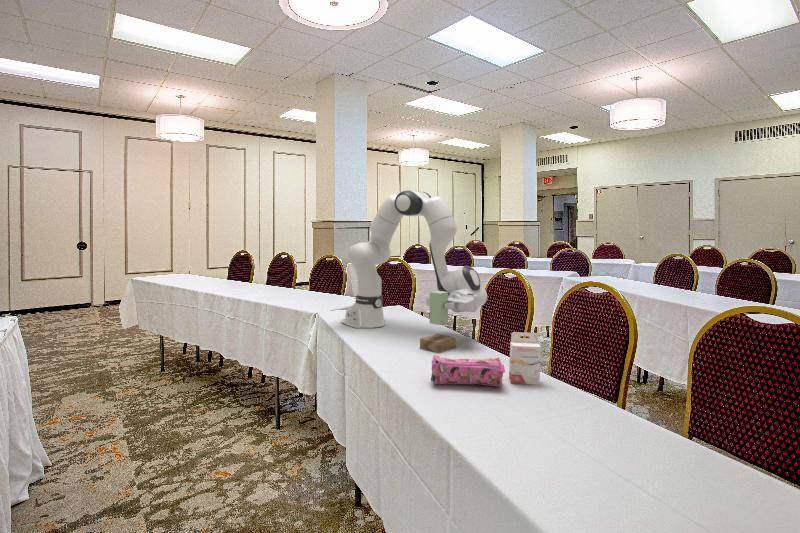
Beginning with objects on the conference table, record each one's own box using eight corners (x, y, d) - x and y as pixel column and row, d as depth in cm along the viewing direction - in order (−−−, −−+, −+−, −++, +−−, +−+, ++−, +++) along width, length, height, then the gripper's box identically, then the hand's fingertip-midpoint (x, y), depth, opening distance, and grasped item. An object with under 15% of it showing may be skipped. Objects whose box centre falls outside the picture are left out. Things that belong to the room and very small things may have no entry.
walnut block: (419, 348, 181) (419, 338, 180) (437, 343, 189) (437, 333, 188) (438, 353, 174) (438, 342, 174) (456, 347, 182) (456, 337, 182)
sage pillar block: (429, 323, 180) (429, 292, 179) (437, 321, 184) (437, 290, 183) (439, 325, 177) (439, 293, 176) (447, 323, 181) (448, 292, 180)
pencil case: (429, 388, 138) (430, 358, 137) (432, 378, 147) (432, 350, 146) (505, 392, 134) (505, 362, 134) (502, 382, 143) (503, 353, 143)
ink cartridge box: (510, 383, 141) (512, 335, 140) (508, 378, 146) (509, 331, 145) (540, 384, 141) (541, 336, 139) (537, 379, 146) (538, 332, 144)
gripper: (438, 290, 196) (416, 294, 186) (480, 295, 182) (459, 300, 172) (438, 305, 197) (416, 310, 187) (480, 311, 183) (458, 317, 173)
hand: (437, 305), depth 179 cm, fingers closed on sage pillar block, 5 cm apart
